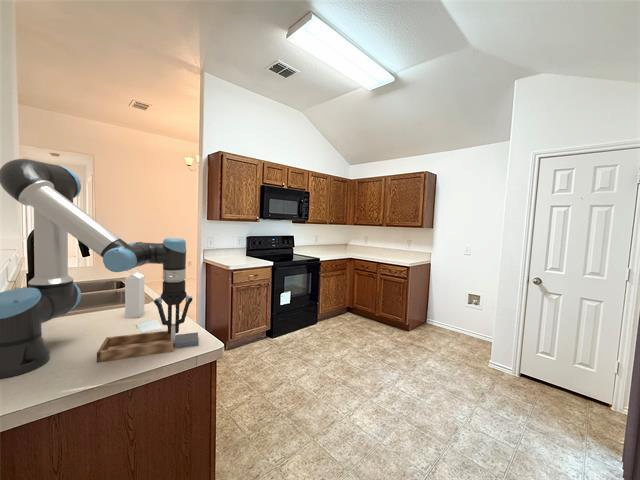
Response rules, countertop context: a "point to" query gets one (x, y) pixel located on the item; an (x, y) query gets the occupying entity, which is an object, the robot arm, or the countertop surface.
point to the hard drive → (149, 326)
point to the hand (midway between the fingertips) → (173, 341)
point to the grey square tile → (186, 340)
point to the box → (135, 345)
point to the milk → (134, 295)
